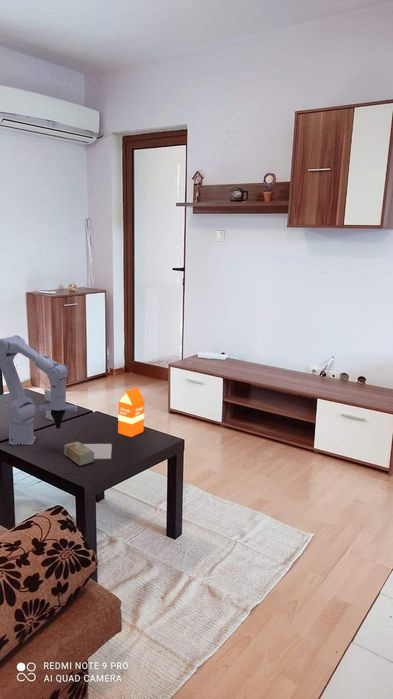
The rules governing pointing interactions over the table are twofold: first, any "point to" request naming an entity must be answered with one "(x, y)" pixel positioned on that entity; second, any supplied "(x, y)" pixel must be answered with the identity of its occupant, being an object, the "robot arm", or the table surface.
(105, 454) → the mat
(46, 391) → the syrup box
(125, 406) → the orange juice
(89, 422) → the table surface
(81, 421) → the table surface
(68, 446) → the skincare box
